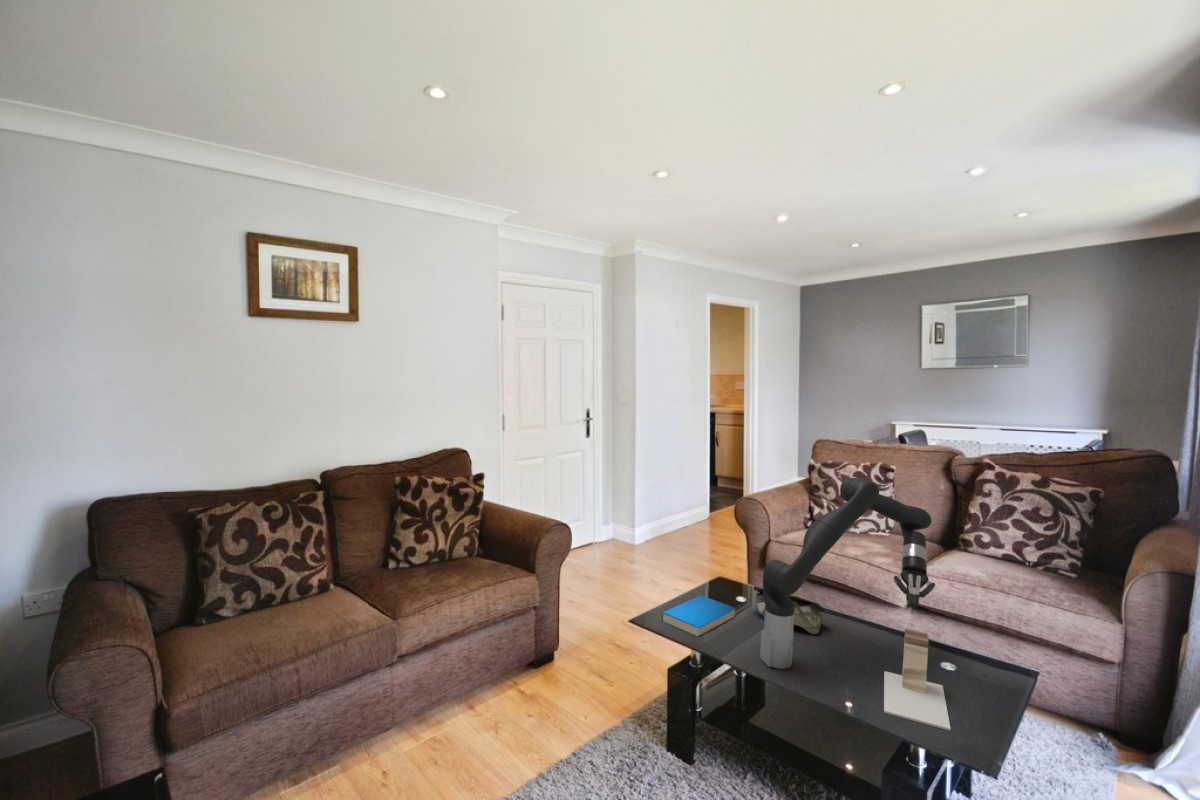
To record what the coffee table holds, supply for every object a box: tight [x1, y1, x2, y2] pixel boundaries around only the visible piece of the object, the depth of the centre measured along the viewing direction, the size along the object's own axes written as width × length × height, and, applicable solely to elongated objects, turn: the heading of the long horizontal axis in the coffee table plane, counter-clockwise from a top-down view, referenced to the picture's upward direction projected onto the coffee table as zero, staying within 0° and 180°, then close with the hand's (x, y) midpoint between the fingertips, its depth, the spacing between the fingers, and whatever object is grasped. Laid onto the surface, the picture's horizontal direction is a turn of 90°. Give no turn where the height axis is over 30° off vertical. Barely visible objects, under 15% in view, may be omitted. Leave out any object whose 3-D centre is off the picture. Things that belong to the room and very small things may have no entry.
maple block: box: [901, 628, 929, 693], centre depth 169 cm, size 6×6×16 cm
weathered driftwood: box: [753, 585, 828, 635], centre depth 211 cm, size 28×13×15 cm
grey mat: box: [883, 671, 952, 732], centre depth 163 cm, size 24×16×1 cm, turn 153°
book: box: [661, 595, 737, 637], centre depth 213 cm, size 17×4×25 cm
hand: (913, 606), depth 184 cm, fingers closed
